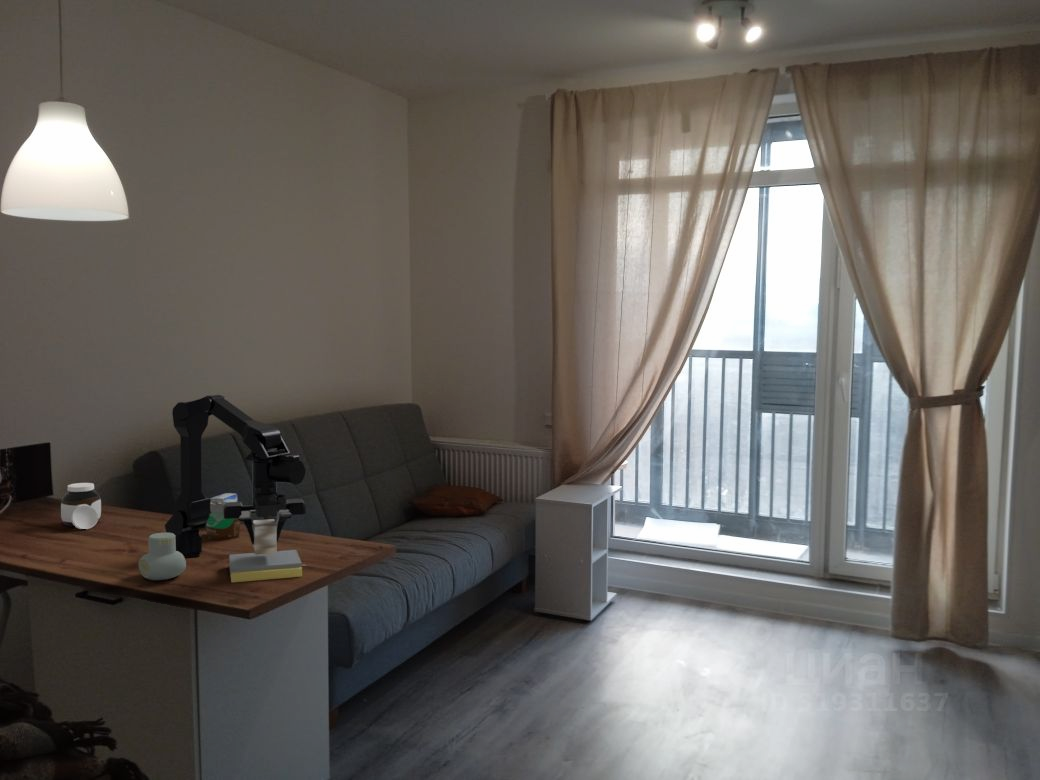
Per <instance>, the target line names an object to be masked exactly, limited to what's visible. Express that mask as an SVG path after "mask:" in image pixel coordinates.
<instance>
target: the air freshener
mask: <svg viewBox="0 0 1040 780" xmlns="http://www.w3.org/2000/svg"><path fill="white" fill-rule="evenodd" d="M147 542H148V543H147V544H148V547H147V550H148V552H147V553H145V554H144V555H142V556H141V557H140V558H139V560H138V570H139V572H140V574H141V576H142V577H144V578H145V579H148V580H149V581H167V580H170V579H173V578H175V577H178V576H180V575H181V574H182V573H183V572H184V571H185V570H186V568H187V561H186V557H184V556H183V555H182V554H181V553H180V552H178V551H176V539H175V535H174V534H173V533H166V532H156V533H152V534H150V535H149V536H148V541H147Z"/></svg>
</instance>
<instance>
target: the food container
mask: <svg viewBox="0 0 1040 780" xmlns="http://www.w3.org/2000/svg"><path fill="white" fill-rule="evenodd" d="M240 502H241V506H243V503H242V501H240ZM225 503H226V502H211V503H210V510H211V514H209V519H208V520H207V524H206V527H205V528H206V535H207V538H208V539H210V540H214V541H216V540H217V541H225V540H233V539H238V538H240V532H241V531H240V530H241V521H238V518H231V519H225V518H224V514H223V505H224V504H225Z"/></svg>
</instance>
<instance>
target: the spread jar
mask: <svg viewBox="0 0 1040 780" xmlns="http://www.w3.org/2000/svg"><path fill="white" fill-rule="evenodd" d="M60 501H61V503H60V517H61V520H62V522H63V523H64V524H65V525H66V526H68V527H69V526H75V527H74V528H77V529H79V530H81V529H86V530H89V529H92V528H93V527H94V526H96V524H97V522H98V521H99V520H100V518H101V515H102V499H101V496H100V494H98V492H97V491H96V490H95V484H94V483H92V482H78V483H70V484H68V485H67V492H66V493H65V494H64V495H63V497H62V499H61V500H60Z"/></svg>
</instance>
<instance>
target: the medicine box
mask: <svg viewBox="0 0 1040 780" xmlns="http://www.w3.org/2000/svg"><path fill="white" fill-rule="evenodd" d="M210 500H211V502H238V494H237V493H234V492H233V493H232V492H228V493H227V492H225V493H222V494H219V495H216V496H213V497H211V498H210Z"/></svg>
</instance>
